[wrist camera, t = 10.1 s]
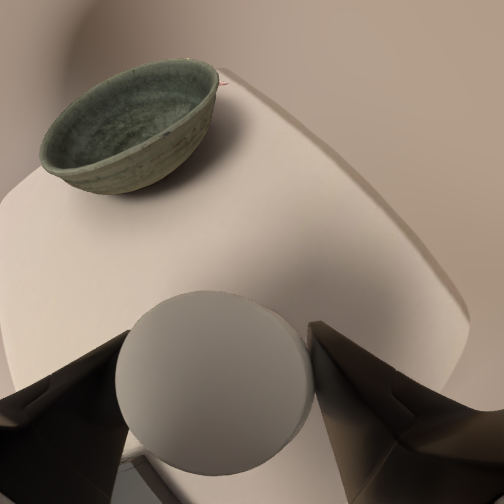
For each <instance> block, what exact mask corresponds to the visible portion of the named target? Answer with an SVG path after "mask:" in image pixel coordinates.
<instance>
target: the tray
mask: <svg viewBox="0 0 504 504" xmlns="http://www.w3.org/2000/svg"><path fill="white" fill-rule="evenodd" d="M111 499H112V500H111V504H182V503H181V502H180V501H179V500H178V499H177V498H176V496H175V495H174V494H173V493H172V492H171V491H170V489H169V488H168V487H167V486H166V484H165V483H164V482H163V481H162V479H161V478H160V477H159V475H158V474H157V473H156V471H155V470H154V469H153V467H152V466H151V465H150V463H149V462H148V460H147V459H146V458H145V456H144V455H141V456H138V457H136V458H133V459H131V460H128V461H126V462H123V463H121V464H120V465H119V469H118V473H117V477H116V481H115V486H114V490H113V495H112V498H111Z"/></svg>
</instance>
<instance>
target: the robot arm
mask: <svg viewBox="0 0 504 504" xmlns="http://www.w3.org/2000/svg"><path fill="white" fill-rule="evenodd" d="M130 331H131V330H127V331H125V332H123V333H122V334H120V335H118V336H116V337H115V338H113V339H111V340H109V341H108V342H106V343H104V344H103V345H101V346H99V347H97V348H96V349H94V350H92V351H90V352H89V353H87V354H85V355H83V356H82V357H80V358H78V359H77V360H75V361H73V362H71V363H70V364H68V365H66V366H64V367H63V368H61V369H59V370H57V371H56V372H54V373H52V374H51V375H48V376H47V377H45V378H43V379H41V380H40V381H38V382H36V383H34V384H32V385H30V386H28V387H26V388H24V389H22V390H20V391H18V392H16V393H14V394H12V395H10V396H7V397H5V398H3V399H1V400H0V504H111V500H112V499H111V498H112V495H113V490H114V486H115V481H116V477H117V473H118V469H119V465H120V461H121V457H122V453H123V449H124V446H125V442H126V438H127V435H128V431H129V427H128V425H127V423H126V422H125V420H124V417H123V415H122V412H121V409H120V406H119V403H118V399H117V394H116V384H115V377H116V366H117V361H118V356H119V353H120V350H121V348H122V345H123V343H124V341H125V339H126V337H127V335H128V334H129V332H130ZM307 348H308V352H309V354H310V356H311V360H312V364H313V371H314V381H315V393H316V396H317V400H318V403H319V406H320V409H321V413H322V416H323V419H324V422H325V426H326V429H327V432H328V435H329V439H330V442H331V445H332V449H333V452H334V455H335V459H336V462H337V466H338V469H339V472H340V476H341V479H342V483H343V486H344V490H345V493H346V497H347V500H348V504H504V409H503V410H498V411H489V412H488V411H487V412H485V411H478V410H474V409H471V408H469V407H467V406H464V405H462V404H460V403H458V402H456V401H454V400H451V399H449V398H447V397H445V396H443V395H441V394H439V393H436V392H434V391H432V390H431V389H429V388H427V387H425V386H423V385H421V384H419V383H417V382H416V381H414V380H412V379H411V378H409V377H407V376H406V375H404V374H402V373H401V372H399V371H396V369H394V368H393V367H391V366H390V365H388V364H387V363H385V362H384V361H382V360H380V359H379V358H377V357H376V356H374V355H373V354H371V353H370V352H368V351H367V350H365V349H363V348H362V347H360V346H359V345H357V344H356V343H354V342H353V341H351V340H350V339H348V338H347V337H345V336H344V335H342V334H341V333H339V332H338V331H336V330H335V329H333V328H331V327H330V326H328V325H327V324H325V323H324V322H322V321H315V322H309V324H308V336H307Z"/></svg>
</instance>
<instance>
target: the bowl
mask: <svg viewBox="0 0 504 504" xmlns="http://www.w3.org/2000/svg"><path fill="white" fill-rule="evenodd" d="M218 86H219V75H218V73H217V71H216V70H215V69H214V68H213V67H212V66H210V65H209V64H207V63H205V62H203V61H198V60H194V59H167V60H161V61H156V62H151V63H147V64H144V65H140V66H137V67H134V68H132V69H129V70H126V71H123V72H121V73H119V74H117V75H115V76H113V77H111V78H109V79H107V80H105V81H104V82H102V83H100V84H98V85H96V86H95V87H93V88H92V89H90V90H89V91H87V92H86V93H84V94H83V95H82V96H80V97H79V98H78V99H77V100H75V101H74V102H73V103H71V104H70V105H69V106H68V107H67V108H66V110H64V111H63V112H62V114H61V115H60V116H59V117H58V118H57V119H56V120H55V122H54V123H53V124H52V125H51V127H50V128H49V130H48V132H47V133H46V135H45V137H44V139H43V141H42V144H41V146H40V155H39V157H40V161H41V164H42V167H43V168H44V169H45V170H46V171H47V172H48V173H50V174H53V175H55V176H57V177H60V178H61V179H63V180H64V181H65V182H67V183H68V184H70V185H71V186H73V187H76V188H79V189H82V190H84V191H87V192H91V193H95V194H102V195H112V194H121V193H126V192H131V191H135V190H137V189H140V188H143V187H146V186H149V185H151V184H154V183H156V182H158V181H159V180H161V179H163V178H164V177H165V176H166V175H168V174H169V173H171V172H172V171H174V170H175V169H176V168H177V167H178V166H180V165H181V164H182V163H183V162H184V161H185V160H186V159H187V158H188V157H189V156H190V155H191V154H192V153H193V152H194V150H195V149H196V148H197V147H198V145H199V144H200V142H201V141H202V139H203V138H204V136H205V134H206V132H207V130H208V127H209V124H210V121H211V117H212V113H213V108H214V104H215V99H216V91H217V88H218Z"/></svg>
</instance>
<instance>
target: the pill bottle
mask: <svg viewBox="0 0 504 504" xmlns="http://www.w3.org/2000/svg"><path fill="white" fill-rule="evenodd" d="M115 384H116V394H117V399H118V403H119V406H120V409H121V412H122V415H123V417H124V420H125V422H126V423H127V425H128V427H129V428H130V430H131V432H132V433H133V434H134V436H135V437H136V438H137V439H138V441H139V442H140V443H141V444H142V445H143V446H144V447H145V448H146V449H147V450H148V451H149V452H150V453H151V454H153V455H154V456H155V457H157V458H158V459H160V460H161V461H163V462H165V463H166V464H168V465H170V466H172V467H175V468H177V469H180V470H182V471H185V472H189V473H193V474H198V475H204V476H222V475H232V474H237V473H241V472H245V471H248V470H250V469H253V468H255V467H257V466H259V465H261V464H263V463H265V462H266V461H268V460H269V459H271V458H272V457H273V456H274V455H276V454H277V453H278V452H279V451H281V450H282V449H283V448H284V447H285V446H286V445H287V444H288V443H289V442H290V441H291V440H292V439H293V438H294V437H295V436H296V435H297V434H298V432H299V431H300V430H301V428H302V427H303V425H304V423H305V421H306V419H307V418H308V415H309V413H310V410H311V407H312V404H313V399H314V393H315V381H314V371H313V364H312V360H311V356H310V354H309V352H308V349H307V347H306V345H305V343H304V341H303V340H302V338H301V337H300V335H299V334H298V333H297V332H296V330H295V329H294V328H293V327H292V326H291V325H290V324H289V323H288V322H287V321H286V320H285V319H284V318H282V317H281V316H280V315H278V314H277V313H275V312H273V311H272V310H270V309H268V308H266V307H264V306H262V305H259V304H257V303H255V302H253V301H251V300H248V299H246V298H243V297H240V296H237V295H234V294H229V293H225V292H218V291H196V292H190V293H186V294H181V295H178V296H175V297H172V298H170V299H168V300H165V301H163V302H161V303H160V304H158V305H157V306H155V307H154V308H152V309H151V310H150V311H148V312H147V313H146V314H144V315H143V316H142V317H141V318H140V319H139V320H138V321H137V323H136V324H135V325H134V327H133V328H132V329H131V331H130V332H129V334H128V335H127V337H126V339H125V341H124V343H123V345H122V348H121V350H120V353H119V356H118V361H117V366H116V377H115Z"/></svg>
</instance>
